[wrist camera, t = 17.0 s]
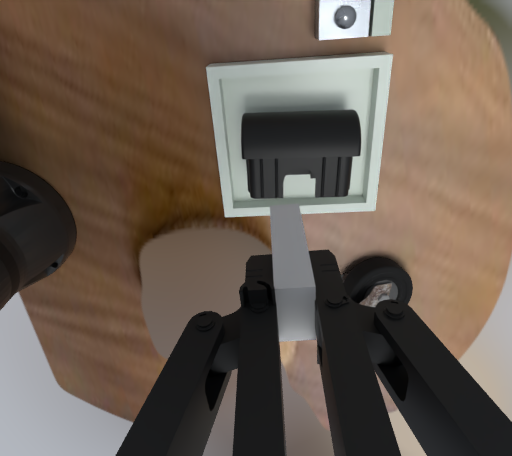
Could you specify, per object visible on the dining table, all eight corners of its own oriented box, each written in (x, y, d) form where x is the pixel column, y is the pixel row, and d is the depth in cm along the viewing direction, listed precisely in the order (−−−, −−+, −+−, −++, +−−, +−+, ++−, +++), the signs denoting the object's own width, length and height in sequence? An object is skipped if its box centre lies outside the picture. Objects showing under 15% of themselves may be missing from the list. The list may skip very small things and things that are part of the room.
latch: (315, 38, 32) (320, 40, 29) (315, -2, 31) (320, -4, 28) (360, 34, 32) (370, 37, 29) (363, -6, 31) (374, -8, 27)
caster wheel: (399, 248, 47) (383, 313, 51) (316, 250, 44) (306, 317, 48) (431, 274, 41) (411, 345, 44) (338, 278, 38) (324, 352, 42)
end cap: (349, 101, 34) (365, 119, 29) (343, 171, 38) (356, 199, 32) (244, 104, 35) (239, 123, 29) (248, 173, 38) (244, 202, 33)
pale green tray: (227, 206, 41) (224, 218, 39) (203, 7, 32) (197, 7, 29) (369, 199, 40) (376, 212, 38) (390, -8, 31) (401, -10, 28)
